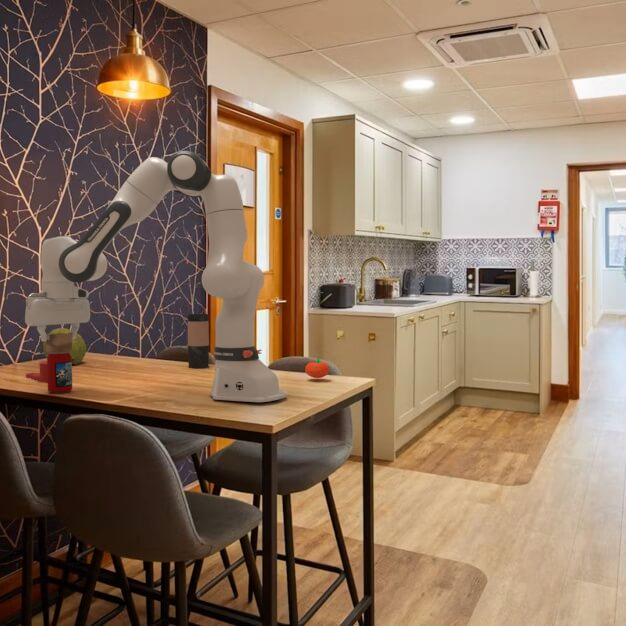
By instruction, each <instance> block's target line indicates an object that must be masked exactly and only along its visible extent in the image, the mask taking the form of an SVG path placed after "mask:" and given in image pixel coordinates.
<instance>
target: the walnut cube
mask: <svg viewBox="0 0 626 626" xmlns="http://www.w3.org/2000/svg"><path fill="white" fill-rule="evenodd" d="M46 334H47V335H49V341H46V352H56V353H59V352H67V351H72V334H65V333H57V334H49V333H46Z"/></svg>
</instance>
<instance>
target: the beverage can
mask: <svg viewBox="0 0 626 626" xmlns="http://www.w3.org/2000/svg"><path fill="white" fill-rule="evenodd" d="M46 361H47V382H48V383H47V391H48V392H49V393H51V394H53V393H55V394H56V395H59V394H62V395H63V394H66V393H69V392H71V391H72V390H73V365H72V356H71V355H70V353H69V351H67V352H59V353H56V352H49V355H48V357H46ZM55 394H54V395H55Z"/></svg>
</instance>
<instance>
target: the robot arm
mask: <svg viewBox="0 0 626 626" xmlns="http://www.w3.org/2000/svg"><path fill="white" fill-rule="evenodd" d="M170 191H174V192H175V193H178V194H180V195H184V196H186V197H189V198H193V199H194V198H197V199H198V198H201V199H202V201H203V205H204V211H205V219H206V225H207V235H208V254H207V255H208V256H207V262H206V267H205V268H204V270H203V272H202V274H201V284H202V288H203V289H204V291H205V292H206V293H207V294H208V295H210V296H212V297H214V298H217V299H221V300H222V303H221V306H220V307H221V308H220V310H219V313H218V314H217V316H216V318H215V346H214V347H213V348H214V350H213V351H214V352H213V353H214V354H213V358H214V362H215V363H214V364H215V366H214V375H213V381H212V382H213V383H212V388H211V392H210V395H209V396H211V397H212V400H220V401H230V402H231V401H233V402H235V401H236V402H246V403H247V402H250V403H265V402H272V401H276V400H277V401H278V400H281V399H284V398H286V397H287V396H288V393H287V391H282V390H280V384H279V379H278V376H277V374H276V373H275V372H274V371H272V369H270V368H269V367H268V366H267V365H266V364H265V363H264V362H263V361H262V360H260V356H259V355H261V354H262V351H263V349H257V348H256V346H255V315H256V310H257V306H258V305H257V304H258V301H259V296H260V292H261V291H262V289H263V286H264V284H265V275H264V273H263V271H262V269H261V268H260V267H259V266H257V265H256V264H254V263H252V262H250V261H246V260H244V253H245V252H244V250H245V244H246V242H247V240H248V231H247V223H246V218H245V217H246V215H245V209H244V203H243V198H242V195H241V191H240V188H239V185H238V182H237V179H235V177H233V176H230V175H228V174H214V173H212V170H211V169H210V168H209V166H208V164H207V162H206V161H205V160H204V159H202V157H201V156H200V155H199V154H197V153H195V152H194V151H190V150H181V151H178V152H175V153H174V154H173V155H171V156H170V158H169V160H168V161H167V162H166V161H165V160H164V159H162V158H160V157H157V156H152V157H148V158H146V159H144V161H142V162H141V164H139V165H138V166H137V167H136V168H135V170H134V171H133V172H132V173H131V174H130V175H129V176H128V178H127V179H126V180H125V182H124V183H123V184H122V186H121V187H120V189H119V190H118V191H117V193H116V195H115V196H114V198H113V199H112V201H111V202H110V203H109V205H108V207H107V208H106V210H104V212H103V213H102V214H101V216H100V217H98V219H97V220H96V221H95V223H93V225H92V226H91V227H90V228H89V229H88V231H87V232H86V233H85V235H83V237H82V238H81V239H80V240H79V241H76V240H74V239H73V238H72V237H71V236H68V235H57V236H56V235H55V236H51V237H48V238H46V239H44V241H43V242H42V246H41V254H40V268H41V271H42V277H41V292H31V293H30V294H29V295H28V296H27V297H26V299H25V304H26V305H25V306H26V307H25V313H24V323H25V324H26V325H27V326H28V327H36V330H37V332H38V333H39V335H40V340H41V342H43V343H44V342H45V341H49V335H47V334H48V333H47V332H46V330H47V326H53V325H54V326H56V325H68V324H69V325H70V327H71V329H70V330H71V333H68V334H72V339H76V333H78V331H79V328H80V324H82V323H83V324H84V323H89V321H90V319H91V307H90V302H89V301H90V300H89V299H88V298H89V296H90V295H89V294H90V293H89V290H86V289H84V288H81V287H78V286H76V285H75V283H80V284H81V283H85V282H90V281H91V282H92V281H96V280H98V279H101V278H102V277H104V275H105V274H106V272H107V270H108V260H107V257H106V256H105V254H104V253H103V252H104V250H105V249H106V248H107V247H108V246H109V244H110V243H111V242H112V241H113V240H114V238H115V237H116V236H117V235H118V234H119V233H120V232H121V231H122V230H123V229H125V228H127V227H129V226H131V225H135V224H137V223H141V222H143V221H144V220H145V219H146V218H147V217H149V216H150V215H151V214H152V213H153V212H154V211H155V209H156V208H157V206H158V204H160V203H161V201H162V200H163V198H164V197H165V196H166V195H167V194H168V193H169V192H170Z"/></svg>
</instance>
